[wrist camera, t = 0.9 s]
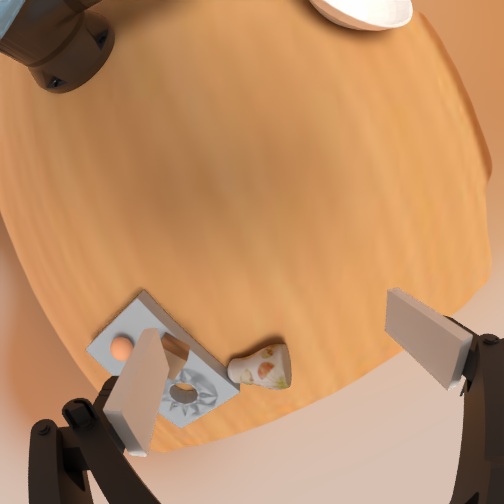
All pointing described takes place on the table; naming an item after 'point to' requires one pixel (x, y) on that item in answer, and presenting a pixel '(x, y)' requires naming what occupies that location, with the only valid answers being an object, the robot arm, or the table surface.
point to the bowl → (366, 13)
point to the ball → (121, 348)
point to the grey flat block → (193, 373)
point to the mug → (263, 368)
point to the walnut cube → (174, 354)
